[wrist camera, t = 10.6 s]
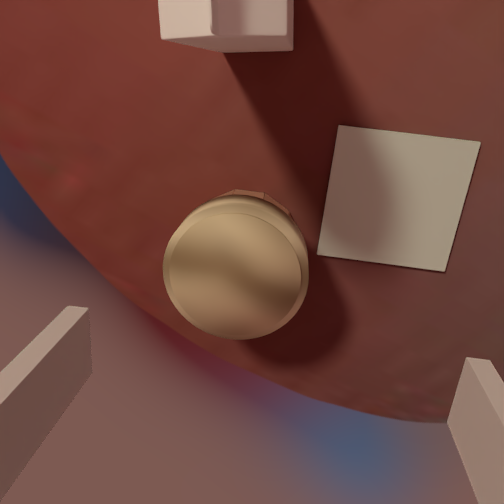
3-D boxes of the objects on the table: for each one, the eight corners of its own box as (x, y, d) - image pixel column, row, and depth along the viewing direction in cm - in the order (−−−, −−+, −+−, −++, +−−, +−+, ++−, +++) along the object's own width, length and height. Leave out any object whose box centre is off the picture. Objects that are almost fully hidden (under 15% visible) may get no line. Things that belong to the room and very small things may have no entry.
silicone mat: (479, 141, 40) (480, 142, 40) (443, 269, 45) (444, 271, 44) (338, 124, 41) (338, 125, 40) (316, 253, 45) (317, 254, 45)
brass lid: (298, 328, 42) (298, 350, 39) (170, 311, 43) (160, 331, 39) (317, 203, 38) (319, 215, 35) (175, 186, 38) (163, 197, 35)
